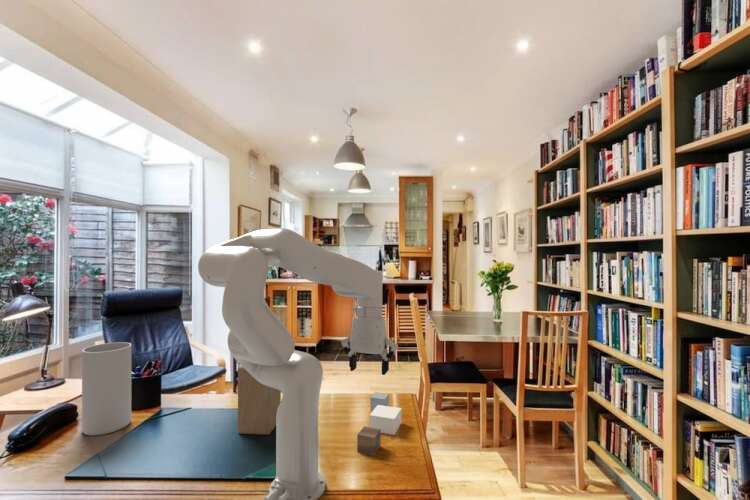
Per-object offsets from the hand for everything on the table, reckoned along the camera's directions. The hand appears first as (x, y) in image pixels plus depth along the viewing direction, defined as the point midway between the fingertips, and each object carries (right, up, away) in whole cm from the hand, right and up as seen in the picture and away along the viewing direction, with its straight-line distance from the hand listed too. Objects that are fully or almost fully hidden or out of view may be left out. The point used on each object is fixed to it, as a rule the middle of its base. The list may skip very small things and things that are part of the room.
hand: (368, 371), depth 105 cm
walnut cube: (0, -20, -5) cm, 21 cm away
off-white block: (+5, -20, +9) cm, 23 cm away
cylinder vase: (-82, -21, +9) cm, 85 cm away
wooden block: (-34, -21, +9) cm, 41 cm away
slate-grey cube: (+4, -20, +21) cm, 29 cm away
